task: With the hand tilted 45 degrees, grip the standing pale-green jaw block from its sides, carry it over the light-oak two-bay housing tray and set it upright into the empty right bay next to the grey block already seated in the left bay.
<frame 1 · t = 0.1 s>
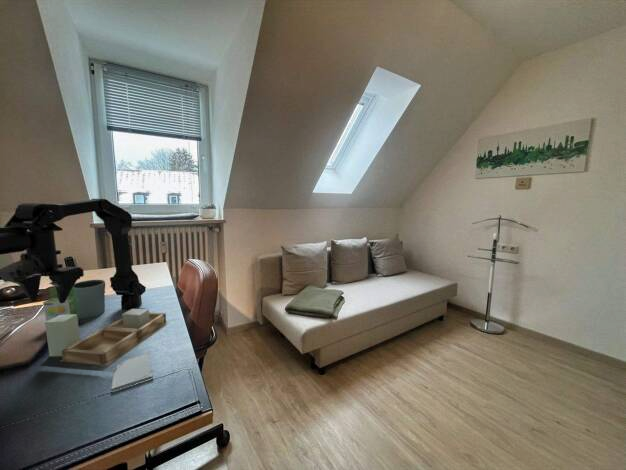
hand: (48, 301, 72), 15 cm above the table, tool pointing down, fingers open, 9 cm apart
dark green round bin: (91, 313, 97), on the table
green jaw block: (66, 354, 71), on the table
ink box: (63, 326, 87), on the table
grey jaw block: (137, 328, 84), point 1 cm above the table, touching oak housing tray
oak housing tray: (122, 341, 78), on the table
hard drive: (133, 374, 65), on the table
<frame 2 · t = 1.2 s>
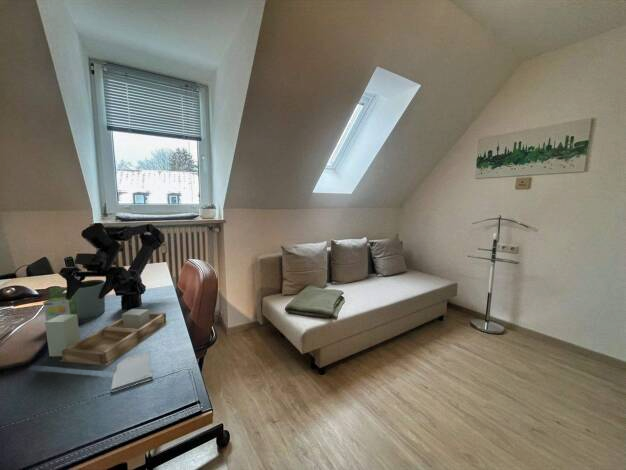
hand: (83, 298, 77), 13 cm above the table, tool tilted 45°, fingers open, 9 cm apart
nothing on the table moved.
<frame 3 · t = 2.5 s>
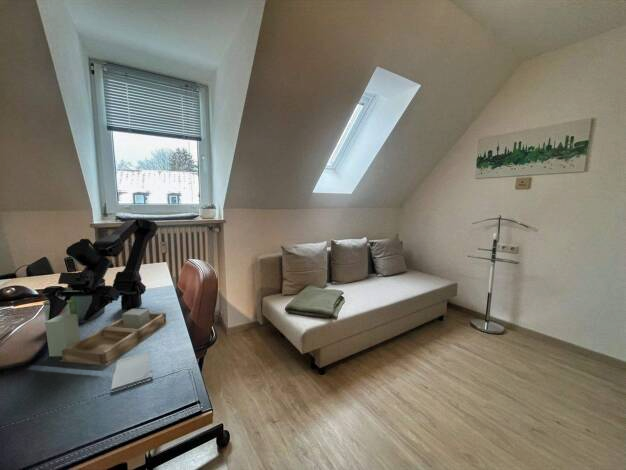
hand: (67, 321, 72), 9 cm above the table, tool tilted 45°, fingers open, 9 cm apart
nothing on the table moved.
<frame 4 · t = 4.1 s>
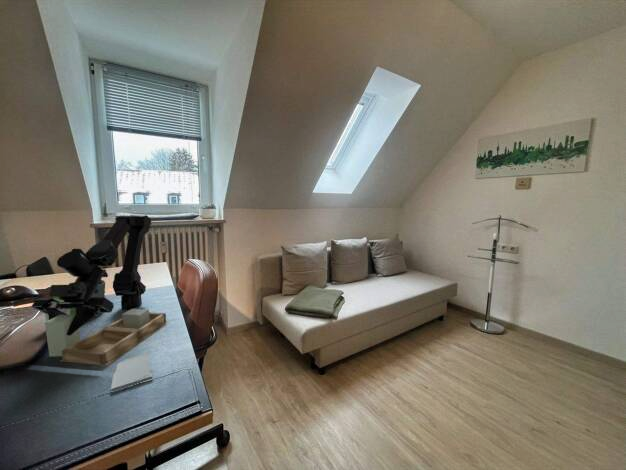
hand: (58, 335, 69), 7 cm above the table, tool tilted 45°, fingers closed on green jaw block, 4 cm apart
green jaw block: (66, 354, 71), on the table, touching gripper
everything else where it was.
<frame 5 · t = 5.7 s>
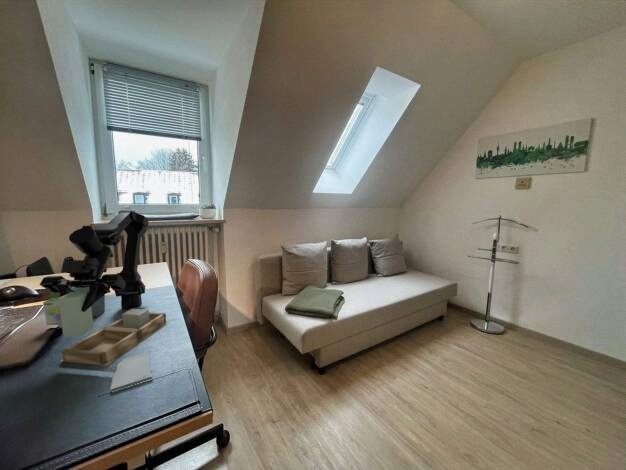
hand: (72, 311, 68), 14 cm above the table, tool tilted 45°, fingers closed on green jaw block, 4 cm apart
green jaw block: (79, 331, 70), point 7 cm above the table, touching gripper
everything else where it was.
when the fingers open (9 cm above the table, at t = 7.3 s): green jaw block drops 1 cm, resting on oak housing tray.
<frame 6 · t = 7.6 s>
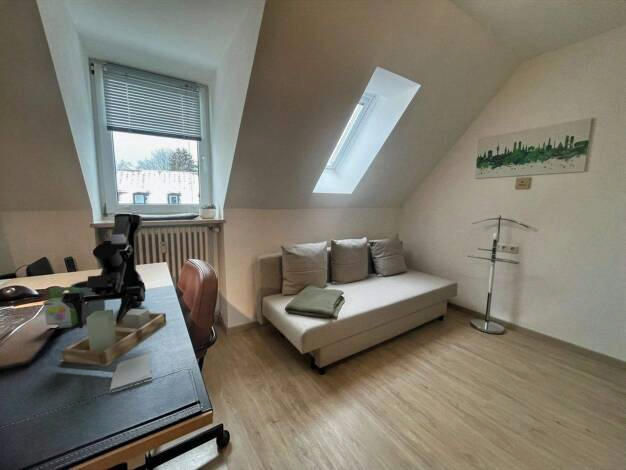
hand: (99, 325, 70), 9 cm above the table, tool tilted 45°, fingers open, 8 cm apart
green jaw block: (104, 349, 72), point 1 cm above the table, touching oak housing tray
everything else where it was.
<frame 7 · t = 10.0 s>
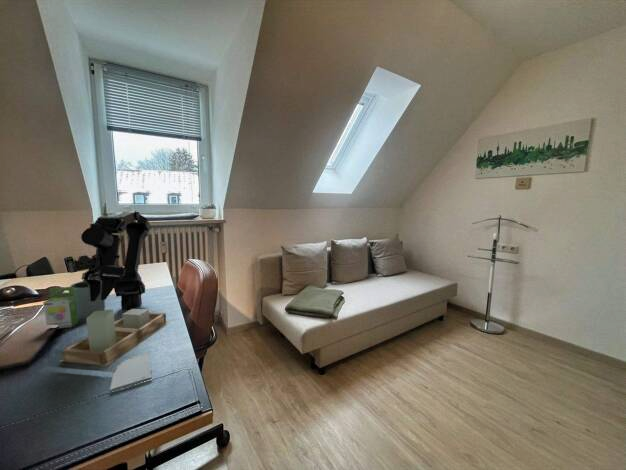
hand: (97, 300, 79), 12 cm above the table, tool tilted 25°, fingers open, 9 cm apart
nothing on the table moved.
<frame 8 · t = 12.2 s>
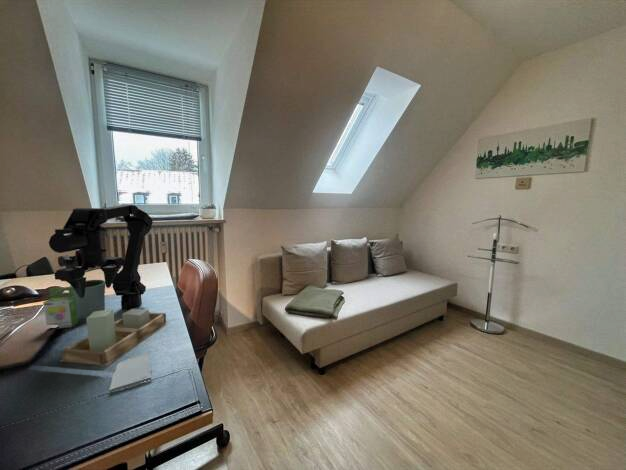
hand: (95, 292, 84), 13 cm above the table, tool pointing down, fingers open, 9 cm apart
nothing on the table moved.
at the end: green jaw block inside the target area on the oak housing tray (0.0 cm from its centre), point 1.0 cm above the oak housing tray's base; green jaw block tilted 0°; the gripper is holding nothing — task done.
